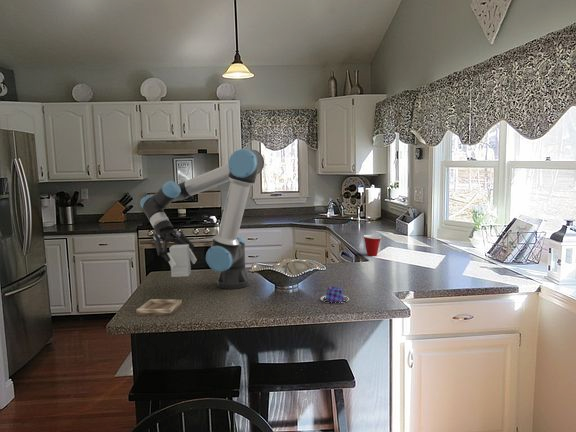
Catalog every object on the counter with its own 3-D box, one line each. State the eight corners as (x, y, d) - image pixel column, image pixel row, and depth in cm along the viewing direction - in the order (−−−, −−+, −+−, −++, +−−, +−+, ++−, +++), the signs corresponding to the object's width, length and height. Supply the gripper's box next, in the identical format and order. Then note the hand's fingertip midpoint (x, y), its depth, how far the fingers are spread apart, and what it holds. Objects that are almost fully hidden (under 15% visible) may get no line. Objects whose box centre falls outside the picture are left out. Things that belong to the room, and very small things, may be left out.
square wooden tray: (182, 304, 193) (182, 299, 193) (170, 315, 180) (170, 310, 179) (150, 303, 195) (150, 299, 195) (135, 314, 181) (135, 309, 181)
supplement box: (191, 272, 205) (189, 244, 204) (188, 276, 198) (186, 247, 196) (174, 273, 205) (172, 244, 204) (170, 277, 198) (169, 247, 196)
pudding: (355, 299, 196) (355, 287, 195) (338, 306, 187) (337, 293, 187) (331, 294, 204) (331, 282, 203) (314, 301, 195) (314, 288, 195)
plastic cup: (381, 257, 277) (381, 237, 276) (363, 257, 279) (363, 237, 278) (381, 253, 288) (381, 234, 286) (363, 253, 290) (363, 234, 289)
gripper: (180, 227, 218) (202, 264, 209) (135, 233, 202) (158, 274, 193) (186, 216, 214) (209, 254, 205) (141, 222, 197) (164, 263, 189)
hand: (184, 264), depth 199 cm, fingers closed on supplement box, 10 cm apart
